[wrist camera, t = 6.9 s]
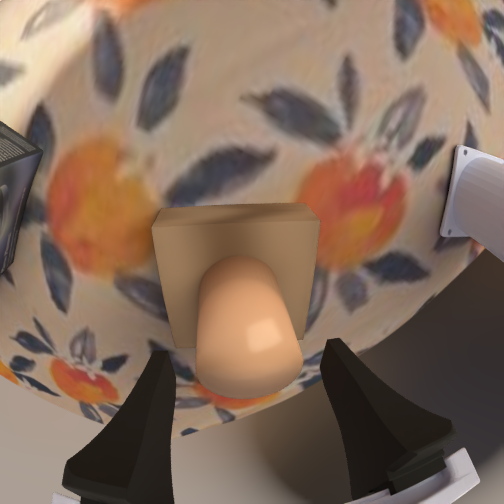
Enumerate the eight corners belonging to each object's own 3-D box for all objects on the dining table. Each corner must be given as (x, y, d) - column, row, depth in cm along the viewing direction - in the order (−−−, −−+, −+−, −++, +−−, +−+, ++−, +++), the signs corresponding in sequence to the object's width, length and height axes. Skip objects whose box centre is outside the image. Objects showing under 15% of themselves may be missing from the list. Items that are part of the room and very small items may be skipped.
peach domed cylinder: (281, 255, 16) (312, 330, 10) (273, 317, 18) (294, 394, 12) (197, 256, 15) (190, 335, 10) (201, 319, 17) (200, 400, 12)
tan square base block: (305, 203, 17) (320, 220, 15) (293, 312, 22) (303, 339, 19) (161, 208, 16) (151, 227, 14) (179, 319, 21) (175, 347, 18)
